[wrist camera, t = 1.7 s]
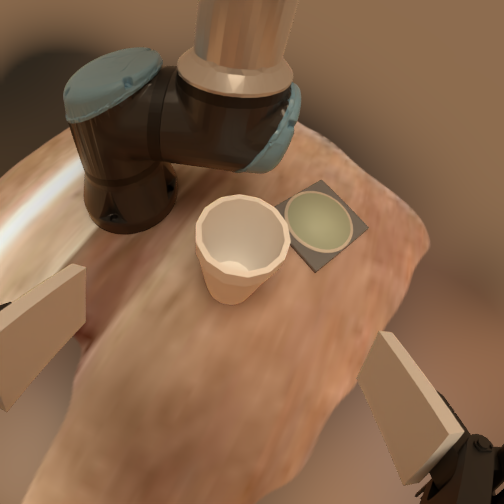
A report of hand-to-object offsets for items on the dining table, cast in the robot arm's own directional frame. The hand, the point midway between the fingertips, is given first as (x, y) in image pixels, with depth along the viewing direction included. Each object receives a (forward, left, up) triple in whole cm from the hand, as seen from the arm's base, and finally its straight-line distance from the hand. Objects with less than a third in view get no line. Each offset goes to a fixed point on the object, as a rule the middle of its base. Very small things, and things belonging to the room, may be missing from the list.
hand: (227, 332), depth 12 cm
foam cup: (-8, +10, -26) cm, 29 cm away
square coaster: (-8, +28, -26) cm, 39 cm away
